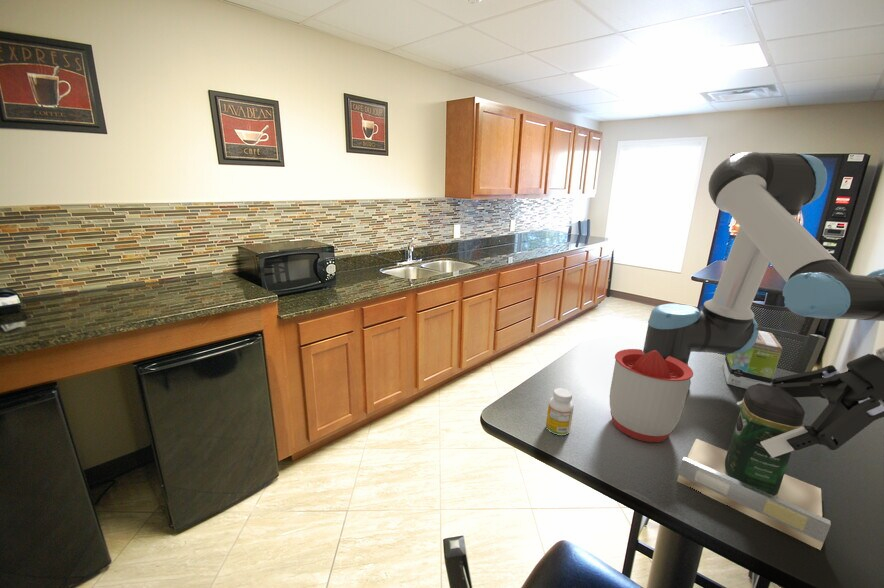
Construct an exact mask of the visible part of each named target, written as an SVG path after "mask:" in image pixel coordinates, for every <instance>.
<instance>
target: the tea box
mask: <svg viewBox="0 0 884 588" xmlns="http://www.w3.org/2000/svg"><path fill="white" fill-rule="evenodd" d="M758 331H759V332H758V338H757V340H756V342H755V344H754V345H753V346H752V347H751V348H750V349H749V350H747V351H745V352H742V353H732V354H725V357H724V358H723V359H724V360H723V364H722V369H723V372H724V377H725V381H726V384H727V385H731V386H734V387H737V388H741V389H745V390H747V388H748V387H749V386H752V385H755V384H758V383H760V384H765V385H769V386H771V385H772V382H771V380H772V379H774V376H775V372H776V369H777V366H778V364H779V360H780V358H781V355H782V351H783V347H782V345H781V344H780V342H779V341H778V340H777V338H776V336H775V335H774V334H773V333H772V332H767V331H762V330H758Z"/></svg>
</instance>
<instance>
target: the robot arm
mask: <svg viewBox="0 0 884 588" xmlns="http://www.w3.org/2000/svg"><path fill="white" fill-rule="evenodd" d="M827 171H828V170H827V168H826V166H824V163H823V161H822V160H821V159H819V158H818V157H816V156H814V155H810V154H803V153H796V152H793V153H792V152H789V153H787V152H758V151H757V152H756V151H745V152H740V153H736V154H734V155H732V156H730V157H728V158H726V159H725V160H723V161H721V163H719V164H718V166H717V167H716V168H715V169H714V170H713V172H712V173H711V175H710V178H709V180H708V181H709V182H708V193H709V197H710V199H711V200H712V202H713V204H714V205H715V207H717V209H718V210H720V211H721V212H724V213H727V214H729V215H730V216H731V217H732V218H733V219H734V221H735V222H736V223H737V224H738V225H739V227H738V229H737V232H736V235H735V238H734V241H733V243H732V245H731V248H730V252H729V253H728V256H727V259H726V262H725V264H724V267H723V270H722V272H721V274H720V275H721V276H720V278H719V281H718V283H717V285H716V288H715V291H714V294H713V297H712V298H711V299H708V300H705V301H704V302H703V305H702V308H701V310H699V309H698V308H697V307H696V306H695V307H694V306H693V305H688V304H680V303H664V304H659V305H656V306H655V307H654V308H652V310H651V313H650V314H649V318H648V325H647V330H646V334H645V340H644V344H643V345H644V346H643V349H642V351H643V354H646V353H648V352H650V351H653V350H656V351H657V352H658V353H659V354H660V355H661V356H662V357H663V359H664V360H665V359H666V358H667V357H668V356H670V357H673V358H676V359H678V360H680V361H682V362H683V363H685V364H687V365H688V366H689V360H690V356H691V352H692V353H693V352H695V353H709V354H710V353H712V354H722V355H726V354H732V353H742V352H745V351H747V350H749V349H750V348H751V347H752V346H753V345H754V344H755V342H756V340H757V338H758V332H759V331H760V330H758V328H759V325H758V322H757V321H756V319H755V313H754V312H753V310H752V309H751V308H752V305H753V302H754V300H755V297H756V295H757V293H758V291H759V287H760V285H761V284H762V281H763V278H764V276H765V274H766V272H767V269H768V267H769V264H771V266H772V267H773V268H774V270H776V272H777V273H778V274H779V275H780V277H781V278H782V279H783V280H784V282H785V283H784V286H783V289H782V297H783V298H784V299H783V300H784V301H783V303H784V305H785V307H786V308H787V309H788V310H789V311H790V312H792V313H793V314H795V315H798V316H801V317H809V318H814V319H822V320H831V319H832V320H833V319H834V320H835V319H837V320H839V319H841V320H860V321H861V320H862V321H873V322H874V321H875V322H876V321H878V322H884V268H882V269H881V268H880V269H878V268H877V269H876V270H874V271H872V272H870V273H868V274H866V275H861V274H853V273H851V272H849V270H848V269H847V268H845V267H844V266H843V265H842V264H841V263H840V262H839V261H838V260H837V259H836V258H835V257H834V256H833V255H832V254H831V253H830V252H829V251H828V250H827V249H826V248H825V247H824V246H823V244H821V243H820V242H819V241H818V240H817V239H816V238H815V237H814V236H813V235H812V234H811V233H810V232H809V231H808V230H807V229H806V228H805V227H804V226H803V225H802V224H801V223H800V222H799V220H797V219H796V217H798V216H799V214H800V211H801V209H802V207H804V206H807V205H809V204H812V203H813V202H815V200H818V199H819V198H820V197H821V195H822V194H823V192H824V191H825V188H826V186H827V181H828V172H827ZM875 351H876V352H875V354H873V353H867V354H865V355H862V356H860V357H857V358H855V359H852V360H850V361H847V363H846V367H847V368H846V369H847V371H843V372H840V371H839V370H838V369H837V368H836V367H835V366H834V365H833V364H829V365H826V366H823V367H821V368H817V369H815V370H810V371H805V372H804V371H803V372H800V373H794V374H791V375H785V376H780V377H773V379H772V380H771V385H770V386H774V387H778V388H782V389H784V390H785V391H786V392H787V393H789V394H790V395H792V396H793V397H794V398H811V397H812V398H814V397H815V398H817V397H819V398H822V399H825V400H826V401H828V402H827V403H828V404H827V405H826V407H825V408H824V409H823V411H821V413H820V414H819V415H818V416H817V418H816V419H815V420H814V421H813V422H812V423H811V425H804V426H803V425H802V427H799V428H797V429H794V430H791V431H788V432H786V433H783V434H780V435H778V436H775V437H772V438H770V439H767V440H764V441H761V442H760V443H761V445H762V446H763V447H764V448H765V449H766V451H767V452H768V453H769V454H770V455H771V457H772V458H773V457H776V456H779V455H782V454H785V453H788V452H791V451H792V452H793V451H799V450H803V449H806V448H808V447H811V446H814V445H820V446H824V447H825V446H826V447H827V449H828V450H830V451H835V450H838V449H839V448H840V447H842V446H843V445H844V444H846V443H847V442H848V441H849V440H851V439H852V438H853V437H854V436H856V435H858V434H859V433H860V432H861V431H863V430H864V429H866V428H867V427H868V426H869V425H871V424H872V423H874V422H875V421H877V420H879V419H882V418H884V405H883V404H884V346H883V347H881V348H878V349H876V350H875ZM691 383H692V381H691V379H690V383H689V387H688V391H687V393H688V392H689V390H690V387H691ZM742 401H743V399H742V400H740V401H737V402H736V405H737V406H738V407H739V409H741V406H742ZM792 452H791V453H792Z"/></svg>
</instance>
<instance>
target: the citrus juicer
mask: <svg viewBox="0 0 884 588" xmlns="http://www.w3.org/2000/svg"><path fill="white" fill-rule="evenodd" d="M614 359H615V360H614V361H615V362H614V366H613V373H612V378H611V383H610V384H611V385H610V389H609V408H610V416H611V419H612V423H613V425H614V426H615V427H616V429H618V430H619V431H620V432H622V433H623V434H625V435H626V436H628V437H631V438H633V439H635V440H638V441H642V442H647V443H659V442H663V441H665V440H666V439H667V438H668V437H669V436H670V435H671V434H672V433H673V432H674V429H675V427H676V426H677V425H678V423H679V421H680V419H681V417H682V413H683V410H684V407H685V403H686V399H687V395H688V392H689V391H688V387H689V383H690V380H691V379H692V378H693V377H694V371H693V369H692V368H691V366H689V364H688V365H687V364H685V363H683V362H682V361H680V360H678V359H676V358H673V357H670V356H668V357H667V358H666V359H665V360H664V359H663V357H662V356H661V355H660V354H659V353H658V352H657V351H656V350H653V351H650V352H648V353H646V354H643V349H640V348H639V349H638V348H637V349H636V348H628V349H621V350H618V351H617V352H616V353H615V354H614ZM687 391H688V392H687Z"/></svg>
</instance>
